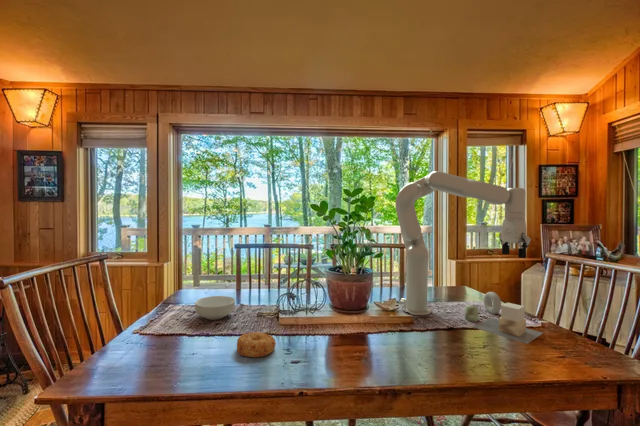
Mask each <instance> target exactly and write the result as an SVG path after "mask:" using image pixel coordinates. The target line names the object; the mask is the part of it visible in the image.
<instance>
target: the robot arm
mask: <svg viewBox="0 0 640 426" xmlns="http://www.w3.org/2000/svg"><path fill="white" fill-rule="evenodd" d="M435 191H438V192H441V193H446V194H450V195H453V196H457V197H461V198H471V199H476V200H481V201H485V202H487V203H488V204H489V205H493V206H494V205H495V206H496V205H504V219H503V221H502V225H501V233H500V234H499V235H498V237H499V240H500V244H501V254H502V255H510V245H509V244H510V243H511V244H517V246H518V249H517V251H518V253H517V256H518V258H519V259H526V258H527V249H528V248H529V246H530V242H531V241H532V238H530V236H528V235H527V234H528V233H527V223H526V189H525V188H523V187H509V188H508V187H507V188H506V187H504V186H501V185H496V184H493V183H489V182H485V181H480V180H475V179H471V178H467V177H464V176H459V175H454V174H451V173H447V172H443V171H438V170H433V171H431V172H429V173H428V174H427V175H426V176H423V177H421V178H420V179H417V180H415V181H413V182H412V181H411V182H410V181H409V182H408V183H406V184H404V186H402V188H401V189H399V192H398V193H397V194H396V195H397V196H396V198H395V212H396V214H397V219H398V223H399V227H400V228H399V229H400V234H401V237H402V241H403V244H404V247H405V248H404V249H405V252H406V272H405V273H406V279H405V283H406V285H405V289H406V290H405V298H404V297H401V299H400V300H399V303H400V304H403V307H402V309H403V308H404V309H406V310H407V311H408V312H409V313H410V314H409V315H413V316H428V315H430V314H431V311H432V309H430V307H428V286H429V285H428V284H429V283H428V282H429V281H428V280H429V279H428V278H429V277H428V276H429V274H428V273H429V251H428V249H427V247H426V243H425V239H424V236H423V232H422V227H421V225H420V223H419V219H418V216H417V215H418V214H417V212H416V211H417V210H416V208H415V207H416V206H415V204H416V201H417V200H419V199H421V198H423V197H426V196H427V195H429V194H432V193H433V192H435Z"/></svg>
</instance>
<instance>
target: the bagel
mask: <svg viewBox="0 0 640 426" xmlns="http://www.w3.org/2000/svg"><path fill="white" fill-rule="evenodd" d="M276 345H277V343H276V339H275V338H274V337H273V336H272V335H270V334H269V333H266V332H265V333H264V332H258V331H256V332H249V331H248V332H246V333H243V334H241V335H240V336H239V337H238V339H237V342H236V350H237V352H238V354H239V355H241V356H243V357H247V358H261V357H264V356H267V355H270V354H271V353H272V352H273V351H274V350H275V347H276Z"/></svg>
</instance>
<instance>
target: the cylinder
mask: <svg viewBox="0 0 640 426" xmlns="http://www.w3.org/2000/svg"><path fill="white" fill-rule="evenodd" d="M464 307H465V309H464V311H465V312H464V315H465V316H464V317H465V318H464V320H465V321H468V322H472V323H476V322H478V321H479V307H478V306H475V305H470V304H469V305H465V306H464Z"/></svg>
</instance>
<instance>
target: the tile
mask: <svg viewBox="0 0 640 426" xmlns="http://www.w3.org/2000/svg"><path fill="white" fill-rule="evenodd" d="M471 327H472V328H475V329H478V330H481V331H484V332H487V333H490V334H495V335H497V336H500V337H504V338H507V339H510V340H514V341H518V342H521V343H523V344H527V345H528V344H530V343H531V342H532V341H534V340H536V339H537V338H539V337H540V336H541V335H543V334H544V332H542V331H538V330H534V329H529V328H527V327H526V332H525V333H523V334H522V335H520V336H515V335H512V334H509V333H505V332H502V331H499V319H497V320H496V319H494V318H488V319H486V320H483V321H481V322H479V323H476V324H474V325H472V326H471Z"/></svg>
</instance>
